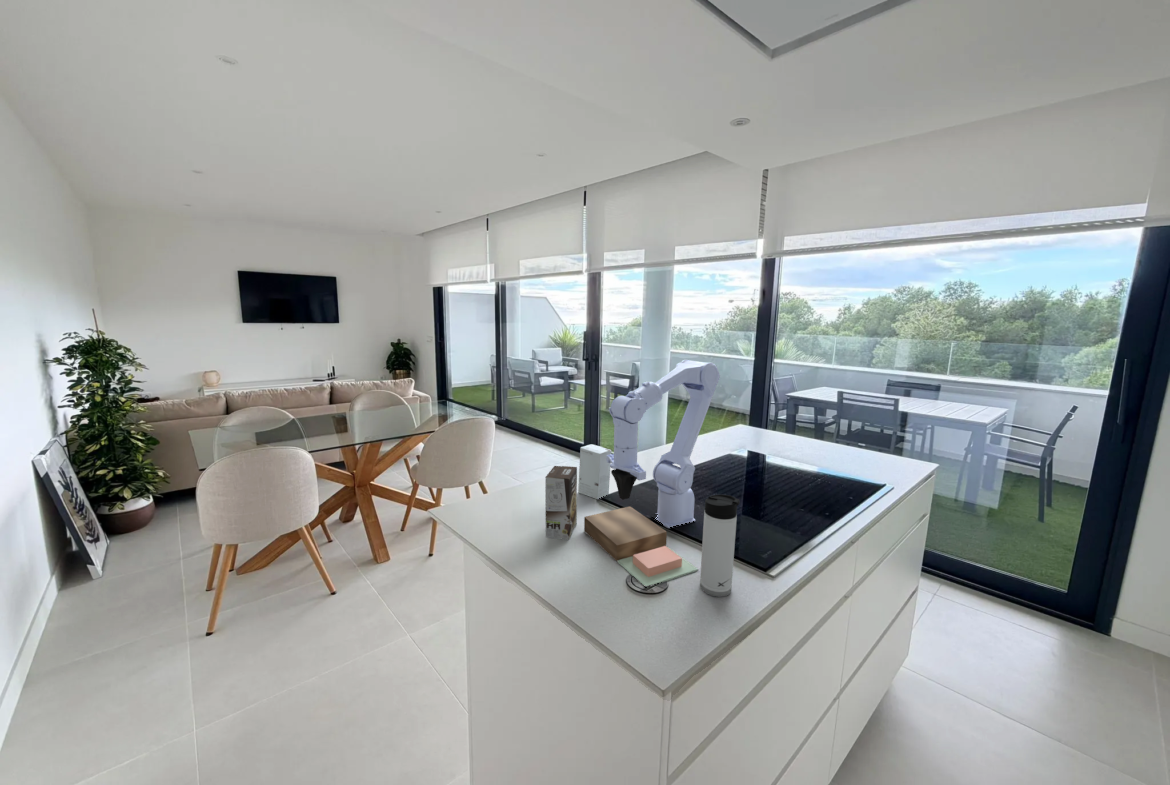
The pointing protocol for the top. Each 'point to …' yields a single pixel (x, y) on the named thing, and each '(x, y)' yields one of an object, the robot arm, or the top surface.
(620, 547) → the block
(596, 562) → the top surface
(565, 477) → the coffee box
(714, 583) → the travel mug
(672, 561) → the coral block
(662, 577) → the sage mat
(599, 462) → the skincare box
